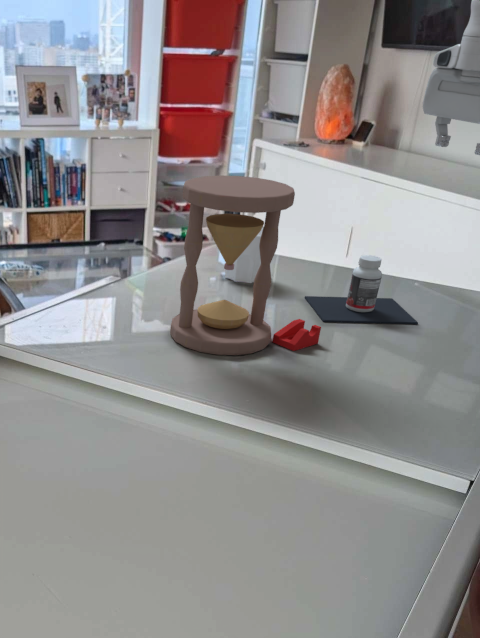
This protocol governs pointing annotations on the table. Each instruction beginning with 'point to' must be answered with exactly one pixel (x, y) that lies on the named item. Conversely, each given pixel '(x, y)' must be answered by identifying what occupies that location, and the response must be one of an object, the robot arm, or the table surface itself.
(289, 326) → the bracket
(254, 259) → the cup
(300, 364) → the table surface
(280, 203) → the hourglass
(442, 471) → the table surface
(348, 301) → the pill bottle
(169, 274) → the table surface
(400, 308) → the mat
